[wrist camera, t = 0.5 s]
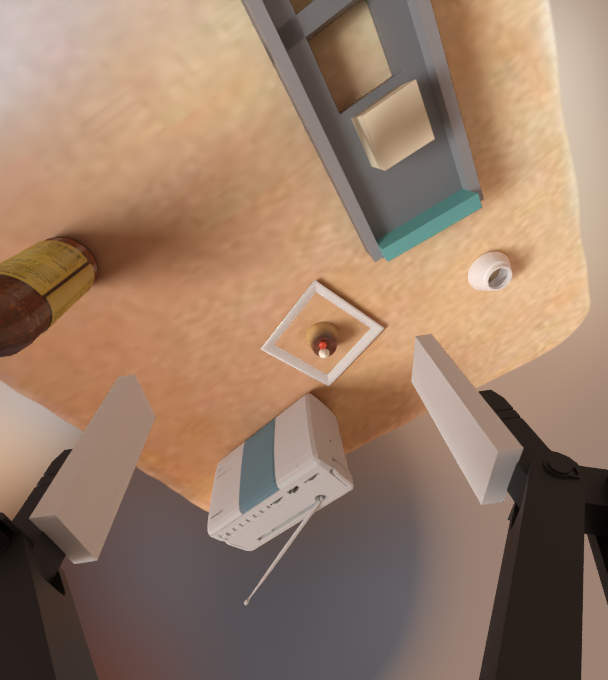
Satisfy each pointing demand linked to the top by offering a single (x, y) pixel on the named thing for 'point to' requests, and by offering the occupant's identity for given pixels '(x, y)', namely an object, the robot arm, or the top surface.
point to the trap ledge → (338, 129)
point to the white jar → (490, 271)
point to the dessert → (322, 336)
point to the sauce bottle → (41, 289)
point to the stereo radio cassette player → (279, 478)
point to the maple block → (394, 126)
